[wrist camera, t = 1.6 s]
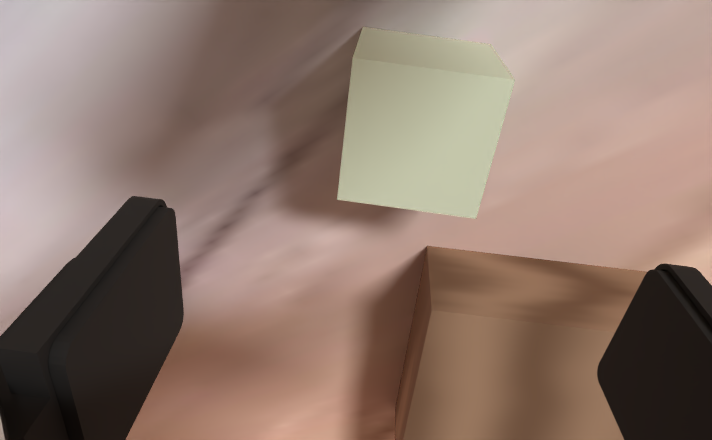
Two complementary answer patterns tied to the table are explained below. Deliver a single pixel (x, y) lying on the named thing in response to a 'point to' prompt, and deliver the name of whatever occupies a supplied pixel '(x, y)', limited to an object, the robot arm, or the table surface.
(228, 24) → the table surface
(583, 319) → the walnut block
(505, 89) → the cream cube
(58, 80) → the table surface
